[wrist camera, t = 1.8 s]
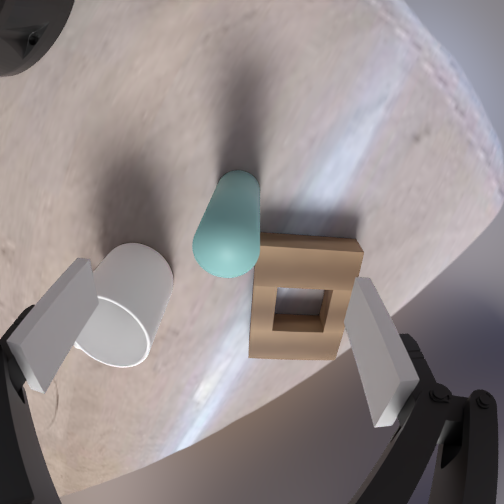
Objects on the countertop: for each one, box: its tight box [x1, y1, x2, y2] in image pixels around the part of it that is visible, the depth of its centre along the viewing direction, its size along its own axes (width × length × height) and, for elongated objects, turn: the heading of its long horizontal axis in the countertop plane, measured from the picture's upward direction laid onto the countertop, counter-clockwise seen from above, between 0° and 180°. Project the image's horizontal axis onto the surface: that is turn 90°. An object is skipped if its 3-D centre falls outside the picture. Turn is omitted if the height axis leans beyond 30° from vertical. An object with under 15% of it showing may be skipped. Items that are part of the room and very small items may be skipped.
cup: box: [73, 243, 173, 367], centre depth 30 cm, size 8×12×10 cm
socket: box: [248, 232, 364, 360], centre depth 34 cm, size 14×10×3 cm
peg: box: [192, 170, 260, 278], centre depth 25 cm, size 4×4×12 cm
